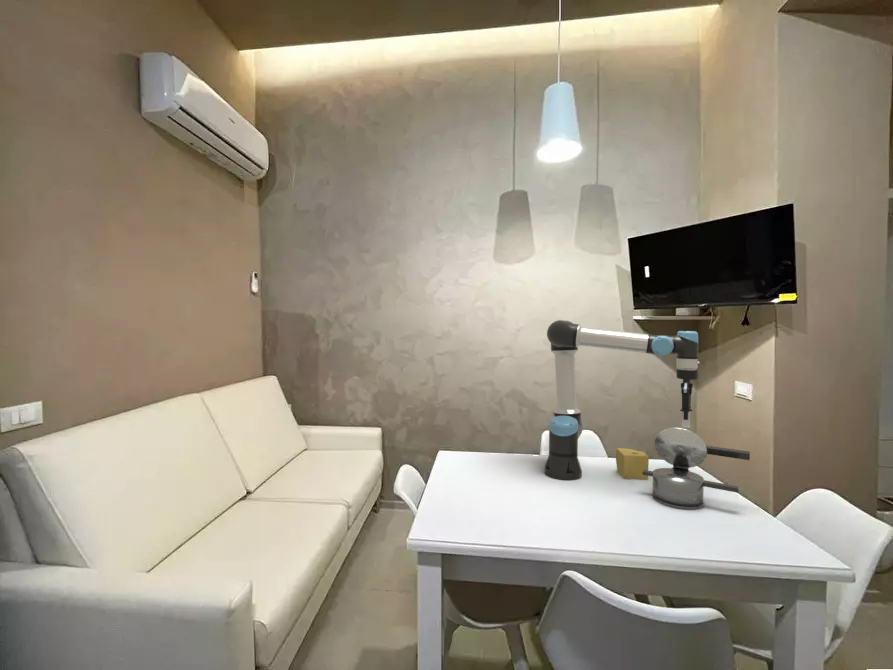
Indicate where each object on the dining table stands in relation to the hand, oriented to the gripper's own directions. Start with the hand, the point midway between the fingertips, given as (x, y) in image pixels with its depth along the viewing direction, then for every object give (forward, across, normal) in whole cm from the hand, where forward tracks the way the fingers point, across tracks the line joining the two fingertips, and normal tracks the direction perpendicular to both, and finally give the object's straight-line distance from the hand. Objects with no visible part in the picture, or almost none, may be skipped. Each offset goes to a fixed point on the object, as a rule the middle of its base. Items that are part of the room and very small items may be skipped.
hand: (685, 427), depth 176 cm
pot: (+22, -25, -3) cm, 33 cm away
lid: (+5, -20, -6) cm, 21 cm away
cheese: (+22, -6, +19) cm, 30 cm away
